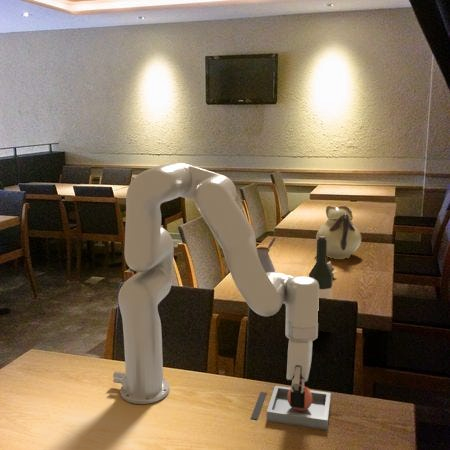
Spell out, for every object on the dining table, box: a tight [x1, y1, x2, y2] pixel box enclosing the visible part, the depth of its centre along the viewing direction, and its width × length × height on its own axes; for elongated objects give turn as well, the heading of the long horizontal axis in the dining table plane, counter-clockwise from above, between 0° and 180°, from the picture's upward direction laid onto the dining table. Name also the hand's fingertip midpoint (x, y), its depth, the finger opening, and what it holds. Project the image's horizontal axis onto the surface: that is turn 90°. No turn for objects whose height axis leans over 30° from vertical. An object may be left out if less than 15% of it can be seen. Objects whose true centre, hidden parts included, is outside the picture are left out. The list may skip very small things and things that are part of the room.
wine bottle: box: [308, 236, 334, 300], centre depth 174 cm, size 8×8×30 cm
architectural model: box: [326, 261, 338, 277], centre depth 221 cm, size 3×7×7 cm, turn 142°
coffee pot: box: [256, 237, 278, 273], centre depth 229 cm, size 21×12×15 cm, turn 152°
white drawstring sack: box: [315, 205, 362, 260], centre depth 254 cm, size 22×24×25 cm
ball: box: [287, 386, 312, 411], centre depth 120 cm, size 6×6×6 cm
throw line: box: [250, 391, 267, 421], centre depth 123 cm, size 2×12×1 cm, turn 165°
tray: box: [266, 385, 332, 431], centre depth 121 cm, size 14×12×2 cm
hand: (299, 395), depth 120 cm, fingers open, 9 cm apart
